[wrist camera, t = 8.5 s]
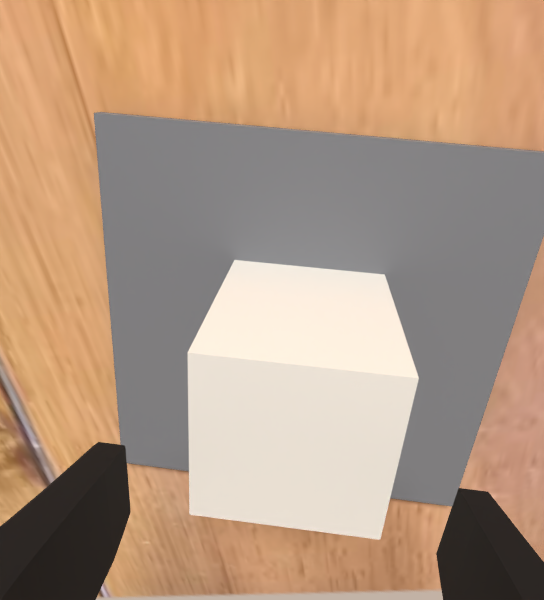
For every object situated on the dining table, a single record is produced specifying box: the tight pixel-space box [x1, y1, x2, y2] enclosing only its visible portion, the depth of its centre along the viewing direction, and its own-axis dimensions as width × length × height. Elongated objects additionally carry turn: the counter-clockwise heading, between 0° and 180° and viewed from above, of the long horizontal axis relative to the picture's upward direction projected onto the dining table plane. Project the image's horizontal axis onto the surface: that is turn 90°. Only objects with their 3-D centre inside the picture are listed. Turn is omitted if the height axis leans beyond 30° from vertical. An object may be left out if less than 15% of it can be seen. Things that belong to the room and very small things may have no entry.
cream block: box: [187, 260, 419, 540], centre depth 14 cm, size 5×5×6 cm
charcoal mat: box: [94, 112, 544, 506], centre depth 17 cm, size 14×14×1 cm
